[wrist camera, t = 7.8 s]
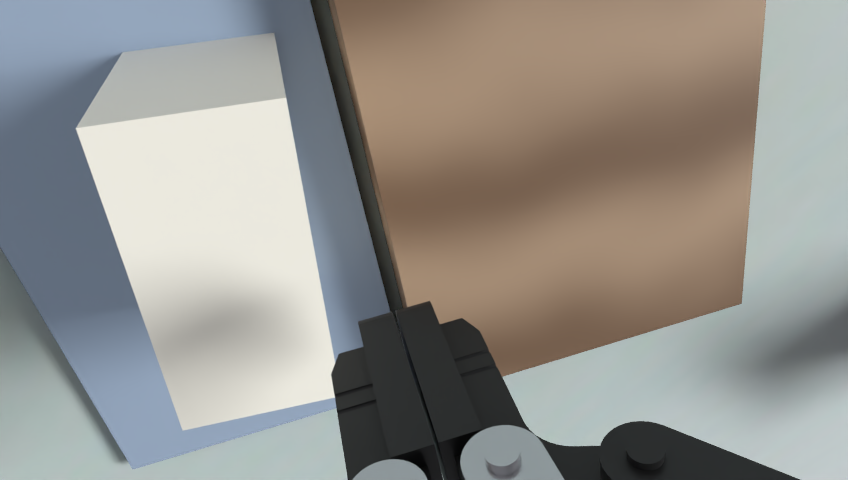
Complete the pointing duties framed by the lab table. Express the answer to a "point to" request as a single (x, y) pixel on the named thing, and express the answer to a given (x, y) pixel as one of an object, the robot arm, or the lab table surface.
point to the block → (213, 225)
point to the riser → (559, 160)
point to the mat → (87, 221)
